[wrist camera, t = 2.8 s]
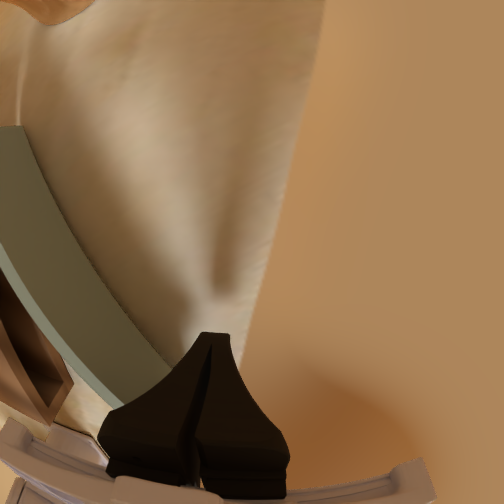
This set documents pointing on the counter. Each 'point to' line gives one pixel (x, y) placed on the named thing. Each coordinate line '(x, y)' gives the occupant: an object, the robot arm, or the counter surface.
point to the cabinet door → (66, 284)
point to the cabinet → (28, 362)
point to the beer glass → (51, 9)
